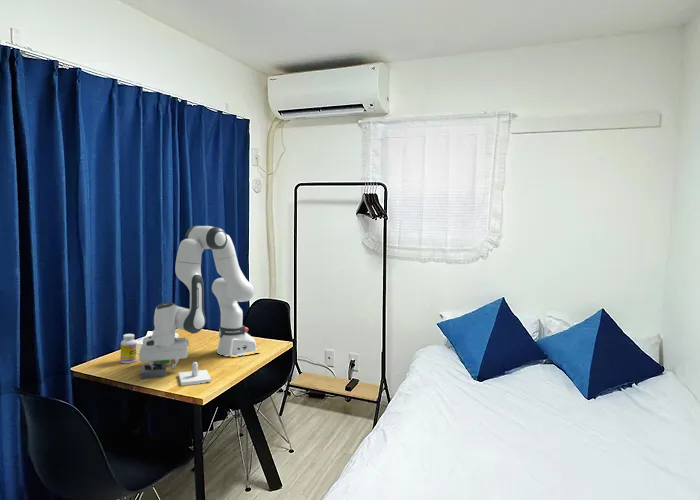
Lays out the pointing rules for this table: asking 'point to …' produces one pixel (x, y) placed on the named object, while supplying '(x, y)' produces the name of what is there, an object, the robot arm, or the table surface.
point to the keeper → (194, 376)
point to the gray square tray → (149, 373)
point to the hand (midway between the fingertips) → (163, 369)
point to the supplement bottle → (128, 349)
